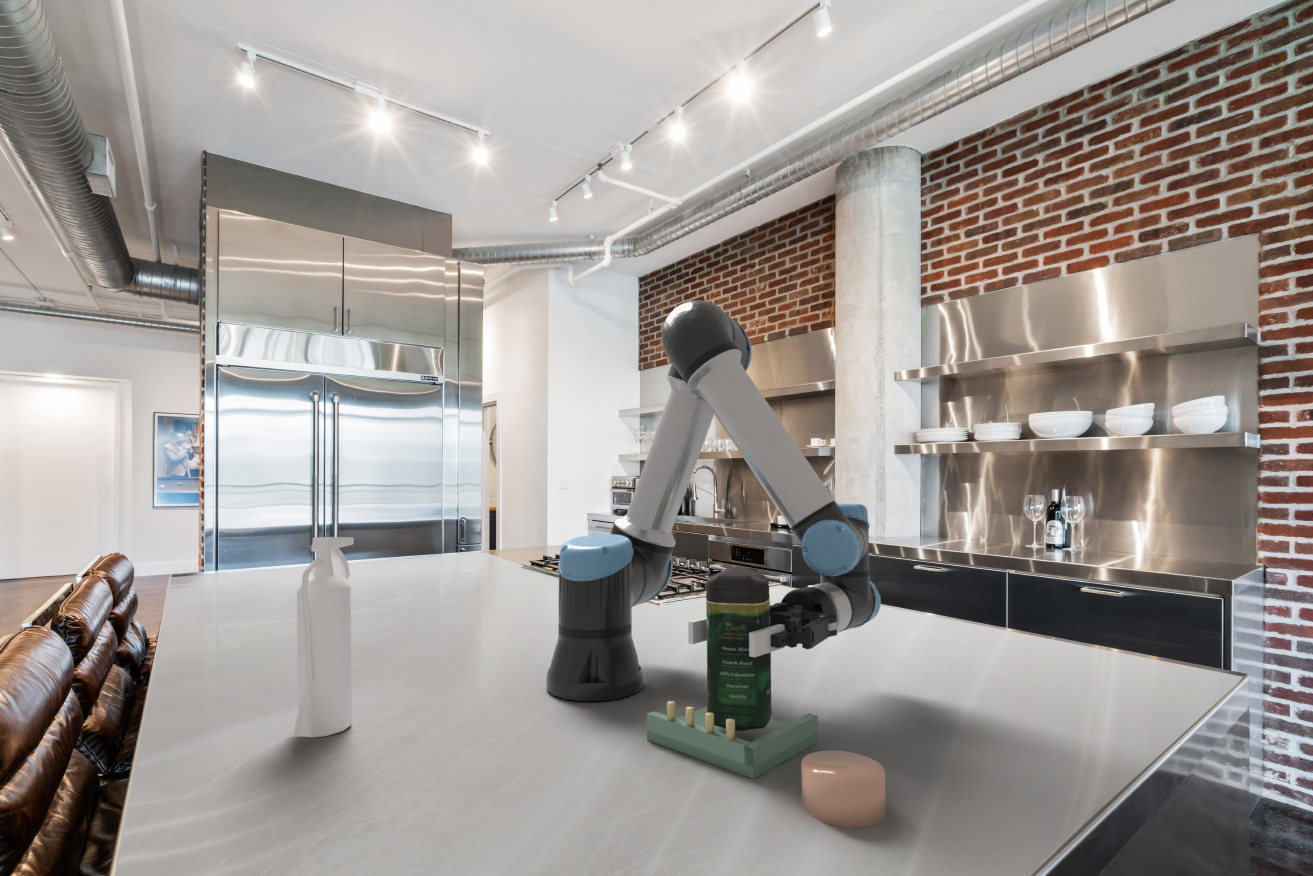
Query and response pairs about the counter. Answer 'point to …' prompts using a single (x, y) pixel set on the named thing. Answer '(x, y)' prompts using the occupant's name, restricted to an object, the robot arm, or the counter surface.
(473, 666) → the counter surface
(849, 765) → the peach soap bar
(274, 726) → the counter surface
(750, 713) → the coffee jar
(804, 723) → the header tray
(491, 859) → the counter surface
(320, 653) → the white spray bottle
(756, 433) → the robot arm
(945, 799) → the counter surface
